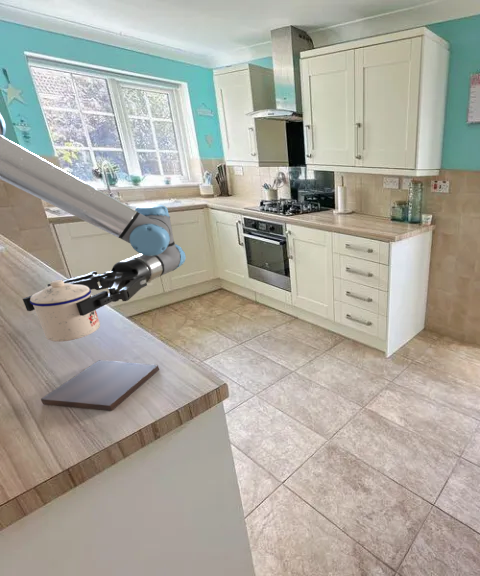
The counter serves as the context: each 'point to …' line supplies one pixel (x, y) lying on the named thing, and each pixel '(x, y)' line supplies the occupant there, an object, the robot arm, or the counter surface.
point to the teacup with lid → (64, 311)
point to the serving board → (101, 385)
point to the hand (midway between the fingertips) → (53, 307)
